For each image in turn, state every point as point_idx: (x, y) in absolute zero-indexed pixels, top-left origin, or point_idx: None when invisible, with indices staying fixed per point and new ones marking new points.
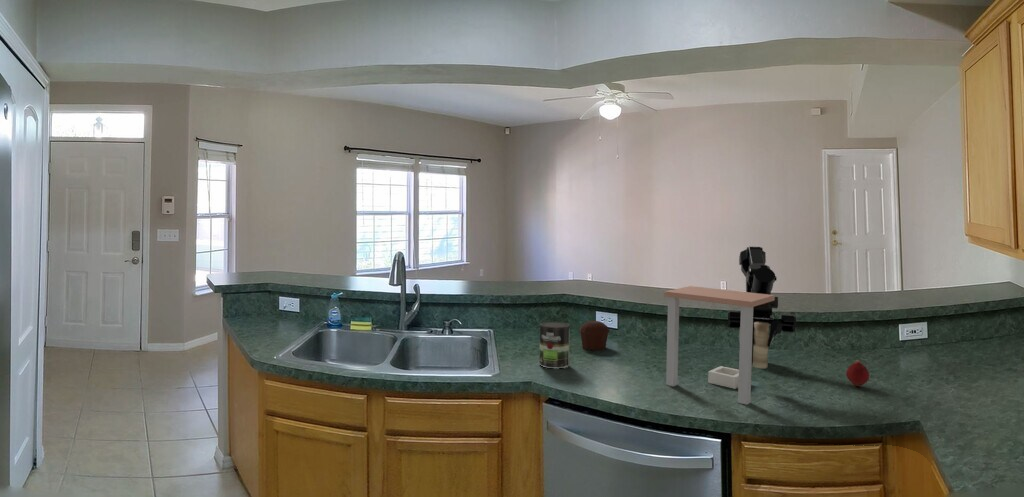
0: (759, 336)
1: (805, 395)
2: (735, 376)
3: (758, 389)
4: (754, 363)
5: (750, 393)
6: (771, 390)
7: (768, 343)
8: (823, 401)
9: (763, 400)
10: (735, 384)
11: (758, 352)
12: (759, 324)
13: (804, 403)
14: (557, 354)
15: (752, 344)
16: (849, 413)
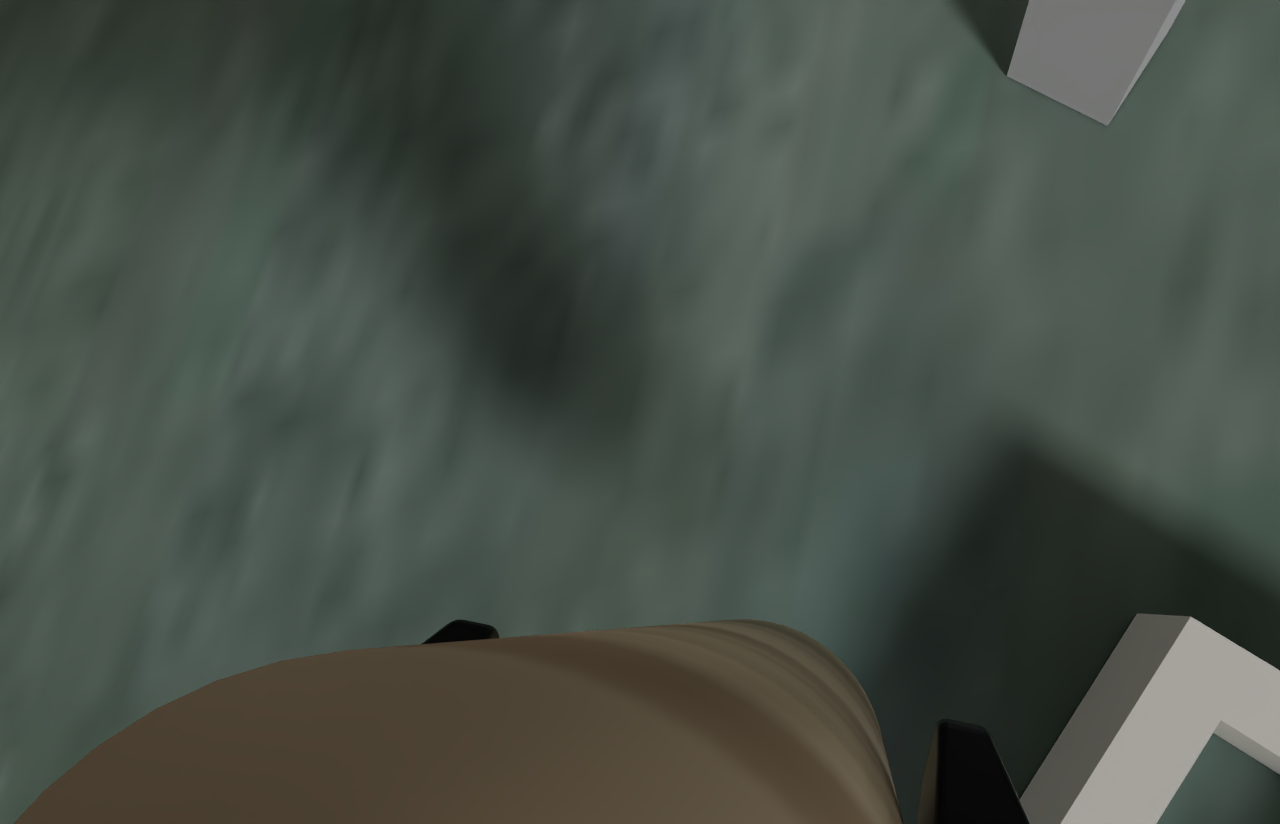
0: (741, 658)
1: (280, 521)
2: (1185, 669)
3: None
4: (868, 701)
5: (1026, 11)
6: None
7: None
8: (165, 344)
9: (824, 208)
10: (1150, 623)
11: (794, 645)
12: (668, 731)
13: (385, 222)
14: None
15: (970, 738)
16: (70, 35)
